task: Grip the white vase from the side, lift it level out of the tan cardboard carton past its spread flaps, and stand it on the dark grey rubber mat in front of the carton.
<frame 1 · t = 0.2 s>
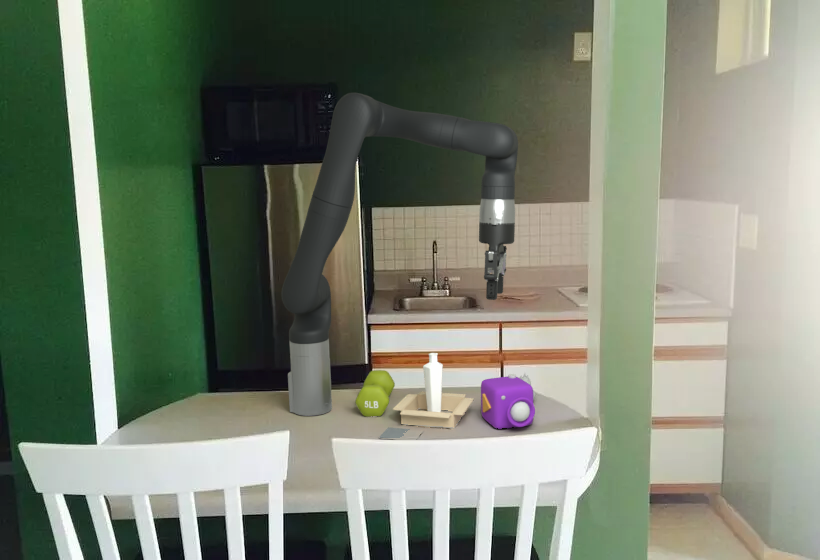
hand: (494, 296, 152), 29 cm above the table, tool pointing down, fingers open, 8 cm apart
toy camera: (510, 425, 155), on the table
dumbbell: (376, 407, 170), on the table
white vase: (434, 419, 161), resting in carton
mat: (401, 435, 151), on the table
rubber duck: (523, 404, 169), on the table
carton: (434, 418, 161), on the table
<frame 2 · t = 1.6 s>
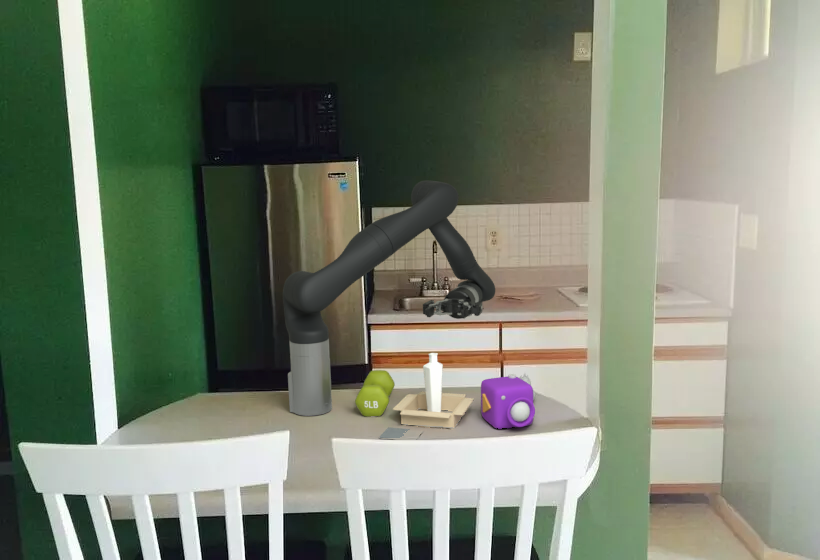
hand: (445, 313, 168), 22 cm above the table, tool horizontal, fingers open, 8 cm apart
nothing on the table moved.
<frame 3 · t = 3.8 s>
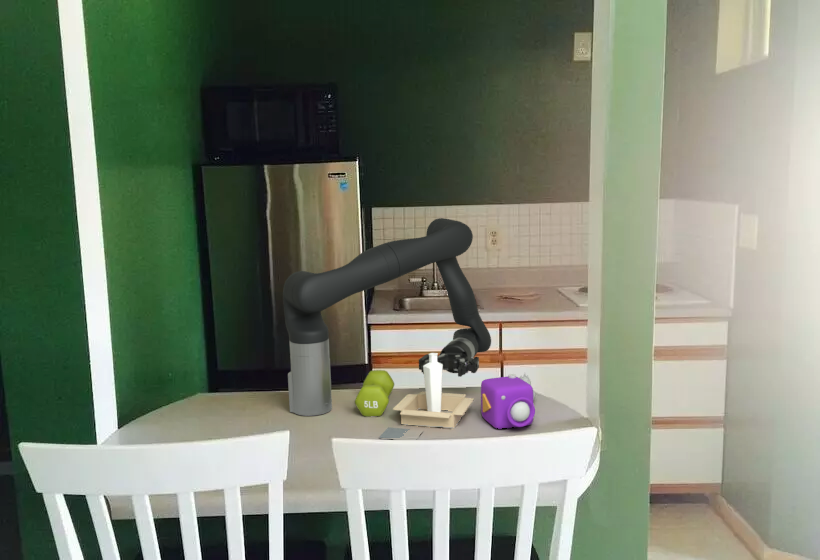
hand: (441, 371, 166), 9 cm above the table, tool horizontal, fingers open, 8 cm apart
nothing on the table moved.
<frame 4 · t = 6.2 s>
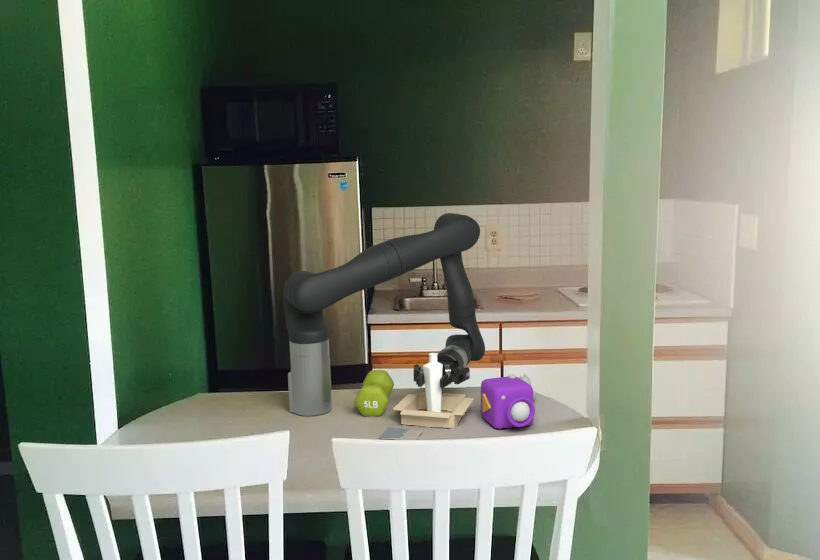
hand: (430, 383, 157), 9 cm above the table, tool horizontal, fingers closed on white vase, 4 cm apart
white vase: (434, 419, 161), resting in carton, touching gripper
everything else where it was.
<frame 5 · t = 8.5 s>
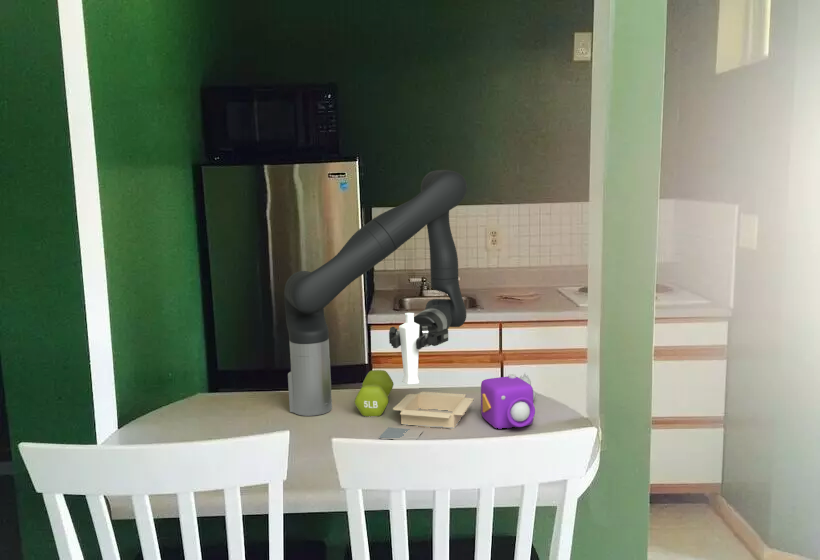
hand: (406, 344, 149), 20 cm above the table, tool horizontal, fingers closed on white vase, 4 cm apart
white vase: (411, 382, 152), point 11 cm above the table, touching gripper
everything else where it was.
when the fingers open (11 cm above the table, at t = 11.0 s): white vase drops 1 cm, resting on mat.
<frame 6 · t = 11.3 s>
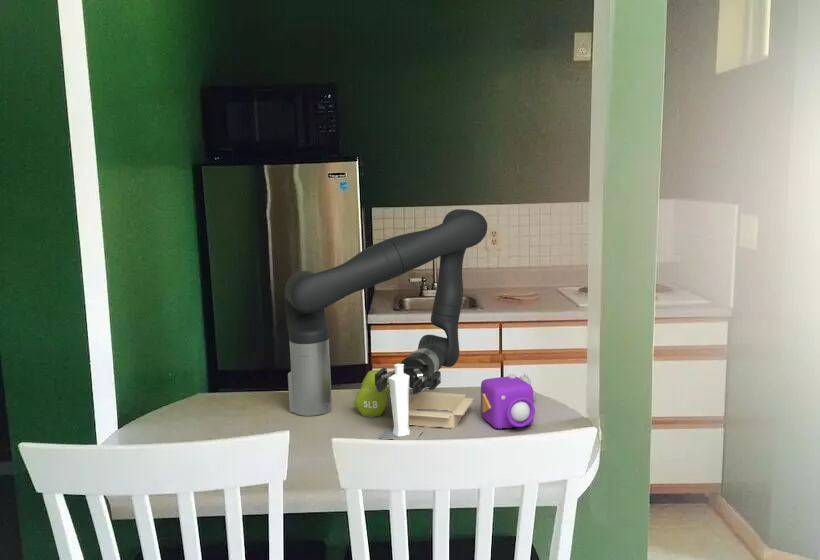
hand: (396, 388, 147), 11 cm above the table, tool horizontal, fingers open, 7 cm apart
white vase: (401, 434, 151), resting on mat
everything else where it was.
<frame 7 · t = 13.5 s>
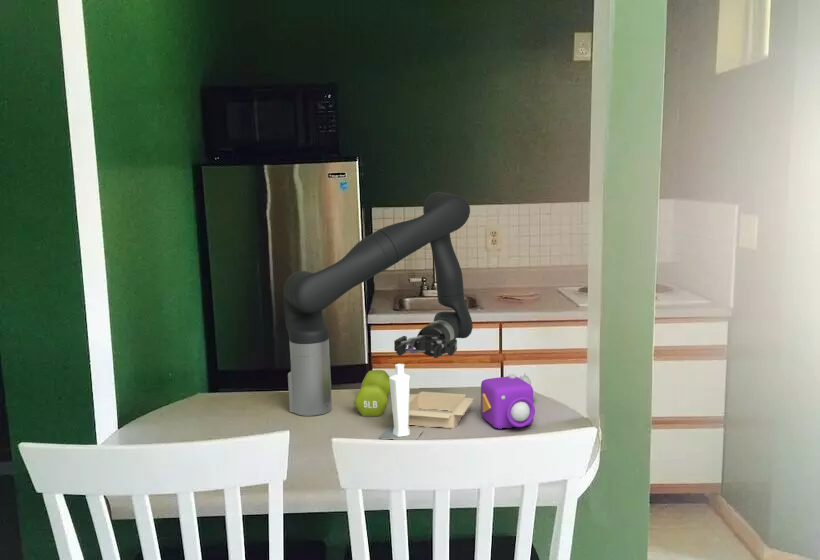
hand: (417, 352, 160), 15 cm above the table, tool horizontal, fingers open, 8 cm apart
nothing on the table moved.
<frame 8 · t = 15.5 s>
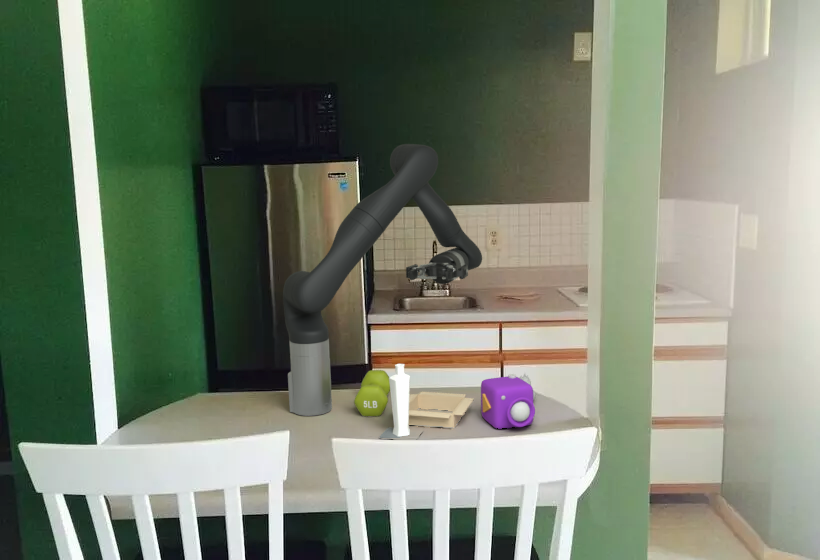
hand: (429, 275, 161), 32 cm above the table, tool horizontal, fingers open, 8 cm apart
nothing on the table moved.
at the end: white vase 0.1 cm from the mat (horizontally); white vase tilted 0°; the gripper is holding nothing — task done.
